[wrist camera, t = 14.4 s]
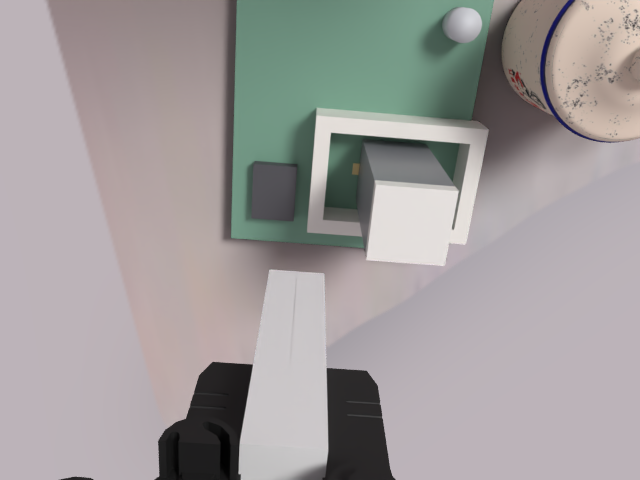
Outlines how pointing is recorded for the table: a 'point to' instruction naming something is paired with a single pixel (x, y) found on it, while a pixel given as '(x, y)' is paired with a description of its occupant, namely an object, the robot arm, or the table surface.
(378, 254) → the plug
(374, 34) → the board
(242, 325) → the table surface
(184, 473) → the robot arm
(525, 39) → the teacup with lid
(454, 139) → the header
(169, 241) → the table surface
